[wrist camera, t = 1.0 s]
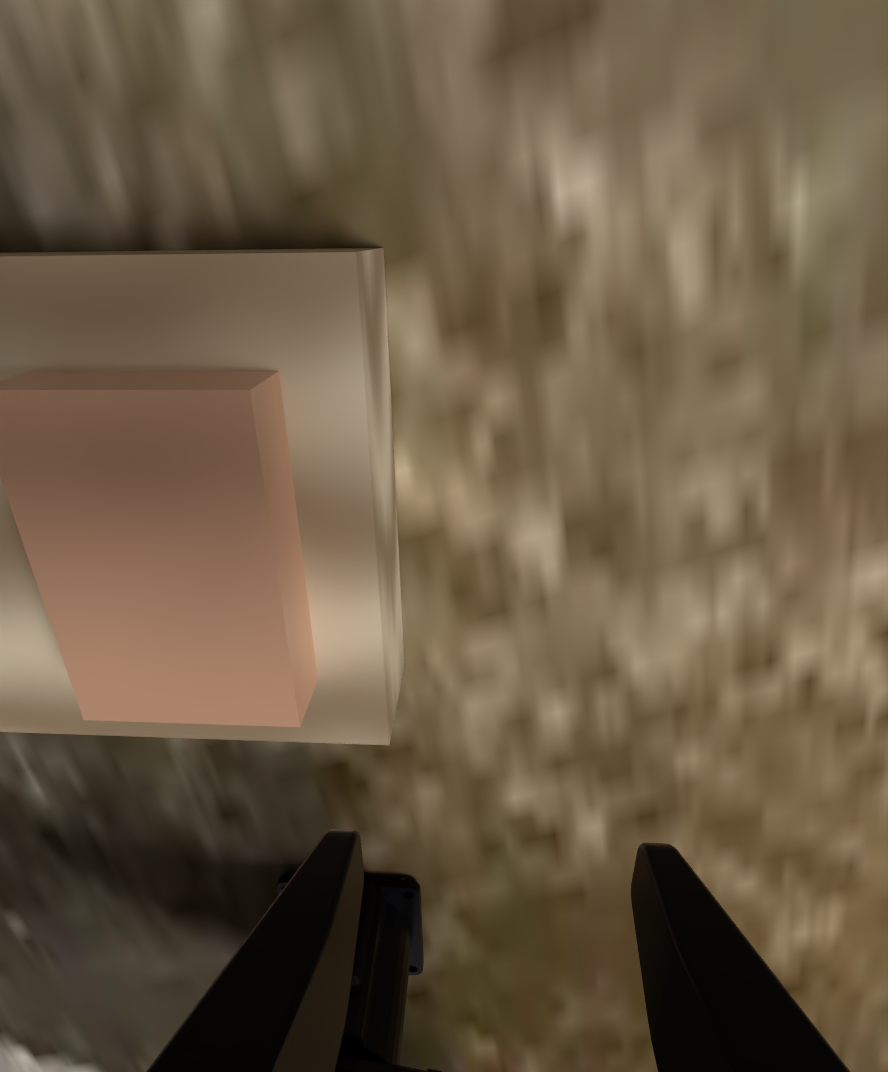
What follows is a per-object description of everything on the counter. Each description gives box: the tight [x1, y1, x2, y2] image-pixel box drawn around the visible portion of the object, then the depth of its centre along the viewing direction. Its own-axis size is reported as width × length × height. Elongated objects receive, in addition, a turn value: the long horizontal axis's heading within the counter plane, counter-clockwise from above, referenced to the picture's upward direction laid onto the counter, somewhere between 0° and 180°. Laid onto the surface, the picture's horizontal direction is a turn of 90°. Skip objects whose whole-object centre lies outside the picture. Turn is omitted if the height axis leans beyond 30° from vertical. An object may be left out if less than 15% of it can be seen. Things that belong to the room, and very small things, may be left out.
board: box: [0, 248, 404, 745], centre depth 19 cm, size 14×16×4 cm
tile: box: [0, 371, 318, 727], centre depth 16 cm, size 9×6×2 cm, turn 1°
